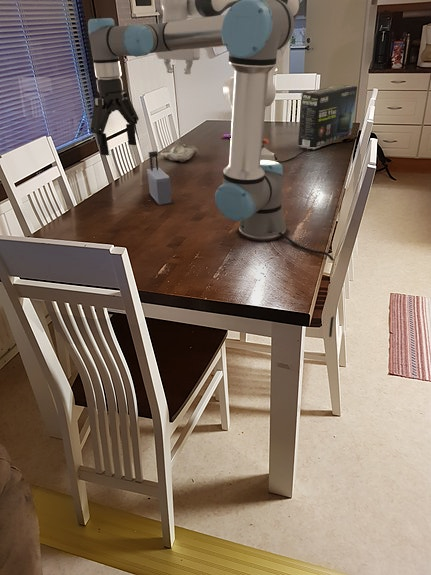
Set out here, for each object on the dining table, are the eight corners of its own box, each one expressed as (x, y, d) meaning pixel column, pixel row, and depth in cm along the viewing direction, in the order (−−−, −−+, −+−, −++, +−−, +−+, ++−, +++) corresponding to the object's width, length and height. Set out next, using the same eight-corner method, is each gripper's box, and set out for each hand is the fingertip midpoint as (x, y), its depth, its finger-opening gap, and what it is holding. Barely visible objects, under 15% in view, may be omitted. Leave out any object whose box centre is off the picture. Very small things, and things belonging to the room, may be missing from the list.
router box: (314, 151, 231) (318, 94, 217) (296, 148, 237) (299, 92, 224) (352, 138, 251) (358, 85, 238) (335, 135, 258) (340, 83, 245)
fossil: (184, 156, 217) (163, 136, 220) (174, 174, 223) (154, 154, 227) (205, 153, 231) (186, 134, 234) (195, 171, 237) (176, 152, 240)
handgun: (222, 137, 264) (222, 134, 263) (235, 136, 265) (235, 132, 264) (230, 145, 246) (230, 142, 245) (244, 144, 247) (244, 140, 246)
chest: (149, 193, 186) (147, 172, 181) (162, 191, 187) (160, 171, 183) (158, 204, 174) (156, 182, 170) (171, 202, 176) (169, 180, 172)
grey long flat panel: (146, 172, 182) (144, 151, 177) (159, 170, 183) (157, 149, 179) (156, 182, 170) (154, 160, 166) (169, 180, 172) (167, 158, 167)
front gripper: (125, 72, 148) (134, 139, 159) (69, 83, 130) (83, 158, 141) (144, 73, 145) (151, 141, 156) (89, 84, 126) (101, 160, 137)
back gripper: (203, 29, 155) (205, 74, 162) (163, 29, 167) (166, 71, 174) (190, 30, 151) (192, 76, 158) (150, 30, 163) (154, 73, 170)
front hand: (119, 149), depth 148 cm, fingers open, 13 cm apart
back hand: (178, 73), depth 166 cm, fingers open, 8 cm apart
